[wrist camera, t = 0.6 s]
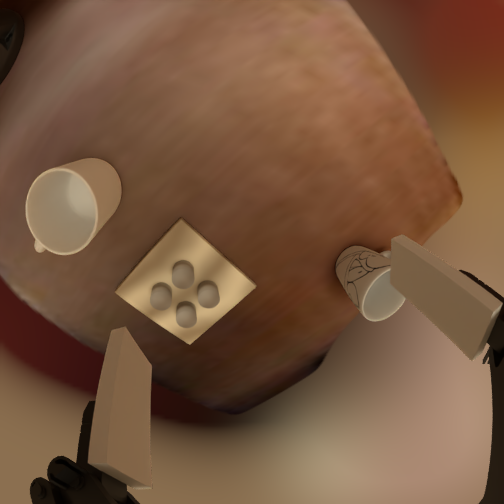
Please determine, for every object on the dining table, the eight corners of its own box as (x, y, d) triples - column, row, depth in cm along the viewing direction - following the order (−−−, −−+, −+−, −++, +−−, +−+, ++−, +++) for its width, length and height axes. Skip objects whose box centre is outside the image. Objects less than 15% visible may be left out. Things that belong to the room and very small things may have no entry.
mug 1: (78, 252, 32) (48, 292, 22) (39, 209, 28) (-1, 237, 19) (136, 191, 31) (115, 215, 21) (95, 143, 27) (58, 148, 18)
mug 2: (384, 223, 40) (426, 247, 31) (388, 266, 44) (424, 294, 35) (323, 251, 40) (359, 285, 31) (333, 294, 43) (364, 331, 35)
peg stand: (116, 288, 35) (110, 302, 32) (181, 216, 33) (180, 225, 30) (189, 340, 41) (190, 355, 38) (254, 282, 39) (260, 296, 36)
